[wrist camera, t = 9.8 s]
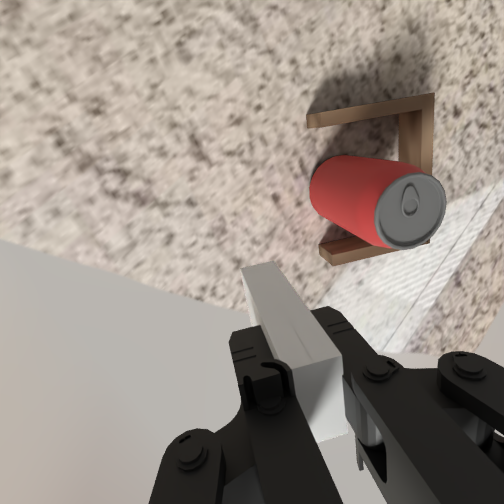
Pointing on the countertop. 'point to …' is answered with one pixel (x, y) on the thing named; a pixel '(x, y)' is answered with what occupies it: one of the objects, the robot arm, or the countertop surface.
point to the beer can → (379, 200)
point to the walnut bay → (410, 151)
